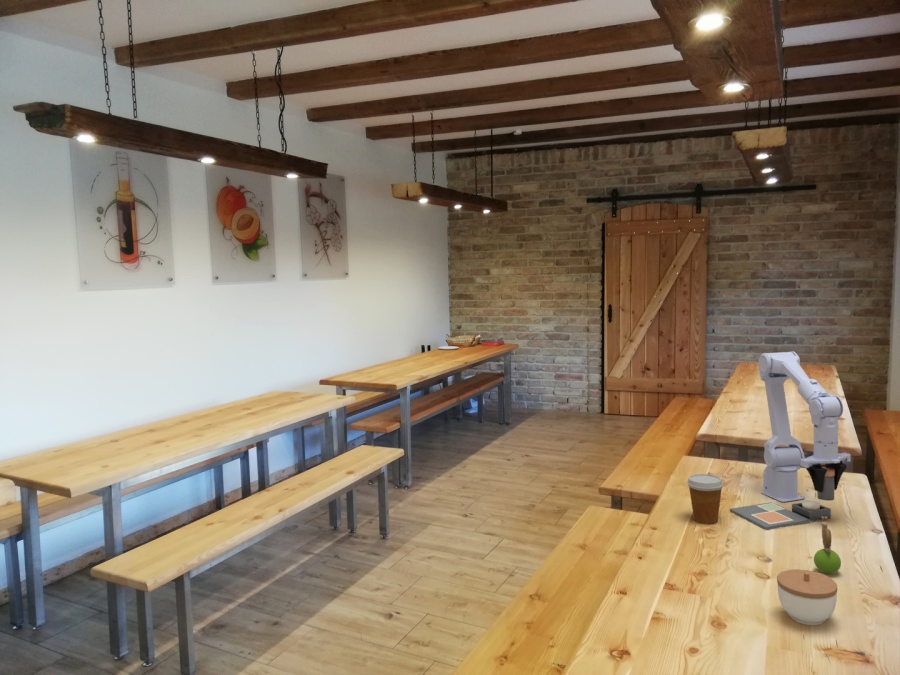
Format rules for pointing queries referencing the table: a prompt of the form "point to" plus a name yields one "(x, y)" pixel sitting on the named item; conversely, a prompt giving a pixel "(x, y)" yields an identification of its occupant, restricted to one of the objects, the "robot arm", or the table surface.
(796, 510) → the button housing
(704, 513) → the disposable coffee cup
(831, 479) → the grey canister
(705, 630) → the table surface
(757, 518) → the picture board
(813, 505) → the button
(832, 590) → the lidded jar
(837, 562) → the green tan bulb piece
